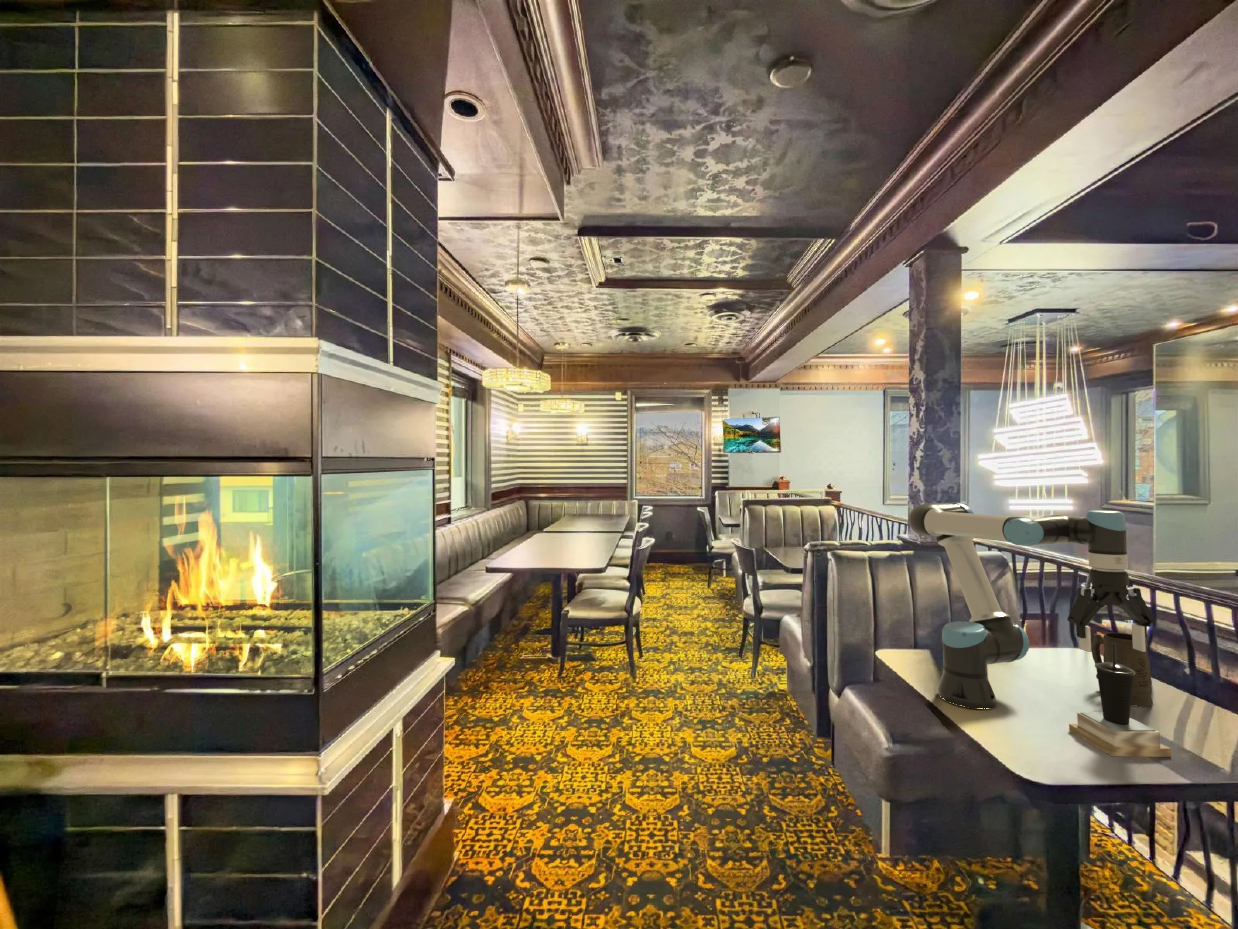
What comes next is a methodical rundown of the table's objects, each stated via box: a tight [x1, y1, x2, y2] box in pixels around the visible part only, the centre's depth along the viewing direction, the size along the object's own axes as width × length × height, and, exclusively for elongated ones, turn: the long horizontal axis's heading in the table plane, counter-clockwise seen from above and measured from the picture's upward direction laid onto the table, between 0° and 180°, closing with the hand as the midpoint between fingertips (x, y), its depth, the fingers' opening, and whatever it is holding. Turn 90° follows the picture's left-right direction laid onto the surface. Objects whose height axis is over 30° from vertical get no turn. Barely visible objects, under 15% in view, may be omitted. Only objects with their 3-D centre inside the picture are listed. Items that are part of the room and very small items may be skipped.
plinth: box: [1068, 711, 1172, 758], centre depth 134 cm, size 14×13×6 cm
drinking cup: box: [1094, 643, 1135, 725], centre depth 135 cm, size 8×8×20 cm
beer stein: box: [1091, 632, 1154, 707], centre depth 162 cm, size 15×11×20 cm
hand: (1112, 650), depth 135 cm, fingers open, 13 cm apart
